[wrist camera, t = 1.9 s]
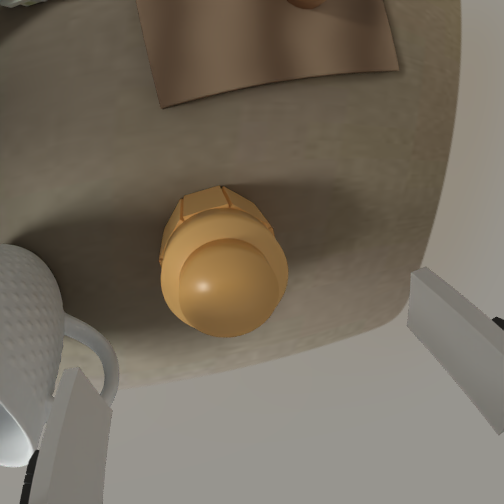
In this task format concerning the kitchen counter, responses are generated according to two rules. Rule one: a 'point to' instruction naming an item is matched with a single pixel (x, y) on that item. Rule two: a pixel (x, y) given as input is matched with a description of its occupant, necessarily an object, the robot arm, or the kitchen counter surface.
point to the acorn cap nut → (221, 263)
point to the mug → (36, 351)
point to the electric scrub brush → (19, 2)
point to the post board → (259, 43)
